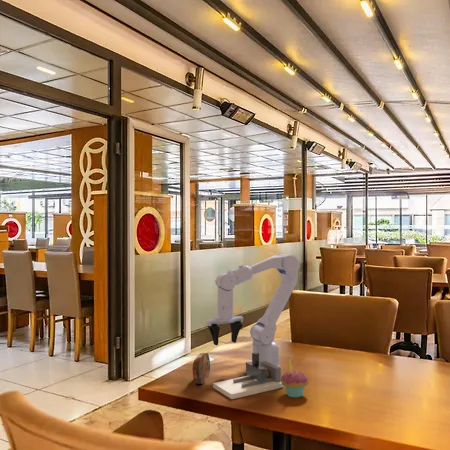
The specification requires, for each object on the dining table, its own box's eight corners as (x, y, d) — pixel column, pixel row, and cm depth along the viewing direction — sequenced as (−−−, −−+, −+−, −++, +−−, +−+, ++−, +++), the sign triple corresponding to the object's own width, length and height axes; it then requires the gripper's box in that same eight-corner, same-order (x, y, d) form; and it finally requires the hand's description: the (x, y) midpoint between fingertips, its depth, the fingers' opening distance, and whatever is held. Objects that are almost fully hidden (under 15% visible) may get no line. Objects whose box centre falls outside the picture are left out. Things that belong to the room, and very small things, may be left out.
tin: (200, 387, 152) (200, 362, 152) (191, 387, 153) (190, 361, 153) (210, 373, 167) (210, 350, 167) (202, 372, 168) (202, 349, 168)
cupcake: (291, 401, 139) (290, 362, 139) (275, 392, 147) (275, 355, 147) (313, 396, 143) (313, 358, 143) (297, 388, 151) (297, 351, 151)
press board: (262, 376, 162) (262, 359, 162) (283, 387, 152) (283, 369, 152) (213, 387, 152) (212, 369, 152) (231, 399, 142) (231, 379, 142)
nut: (260, 380, 157) (266, 370, 158) (267, 383, 153) (273, 373, 155) (252, 373, 155) (259, 363, 157) (259, 377, 152) (266, 366, 153)
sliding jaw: (251, 373, 158) (251, 349, 158) (266, 380, 150) (266, 356, 150) (245, 374, 157) (245, 350, 157) (260, 381, 149) (260, 357, 149)
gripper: (213, 309, 161) (212, 348, 161) (247, 306, 169) (247, 343, 168) (203, 306, 167) (203, 343, 167) (237, 303, 175) (237, 339, 175)
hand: (224, 343), depth 168 cm, fingers open, 7 cm apart
